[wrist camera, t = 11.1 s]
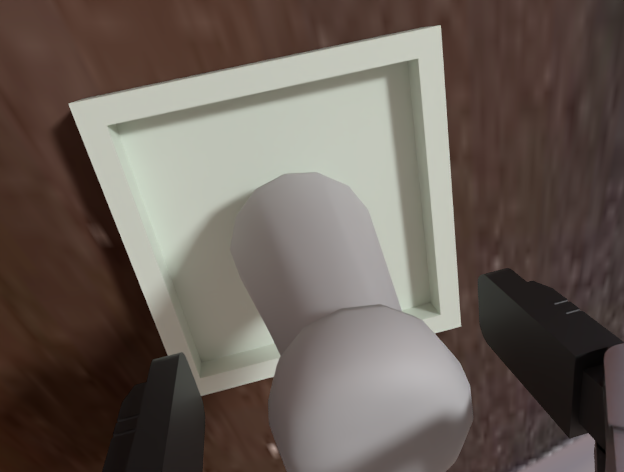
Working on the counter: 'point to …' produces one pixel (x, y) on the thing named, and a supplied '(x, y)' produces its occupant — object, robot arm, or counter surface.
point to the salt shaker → (344, 338)
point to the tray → (266, 167)
